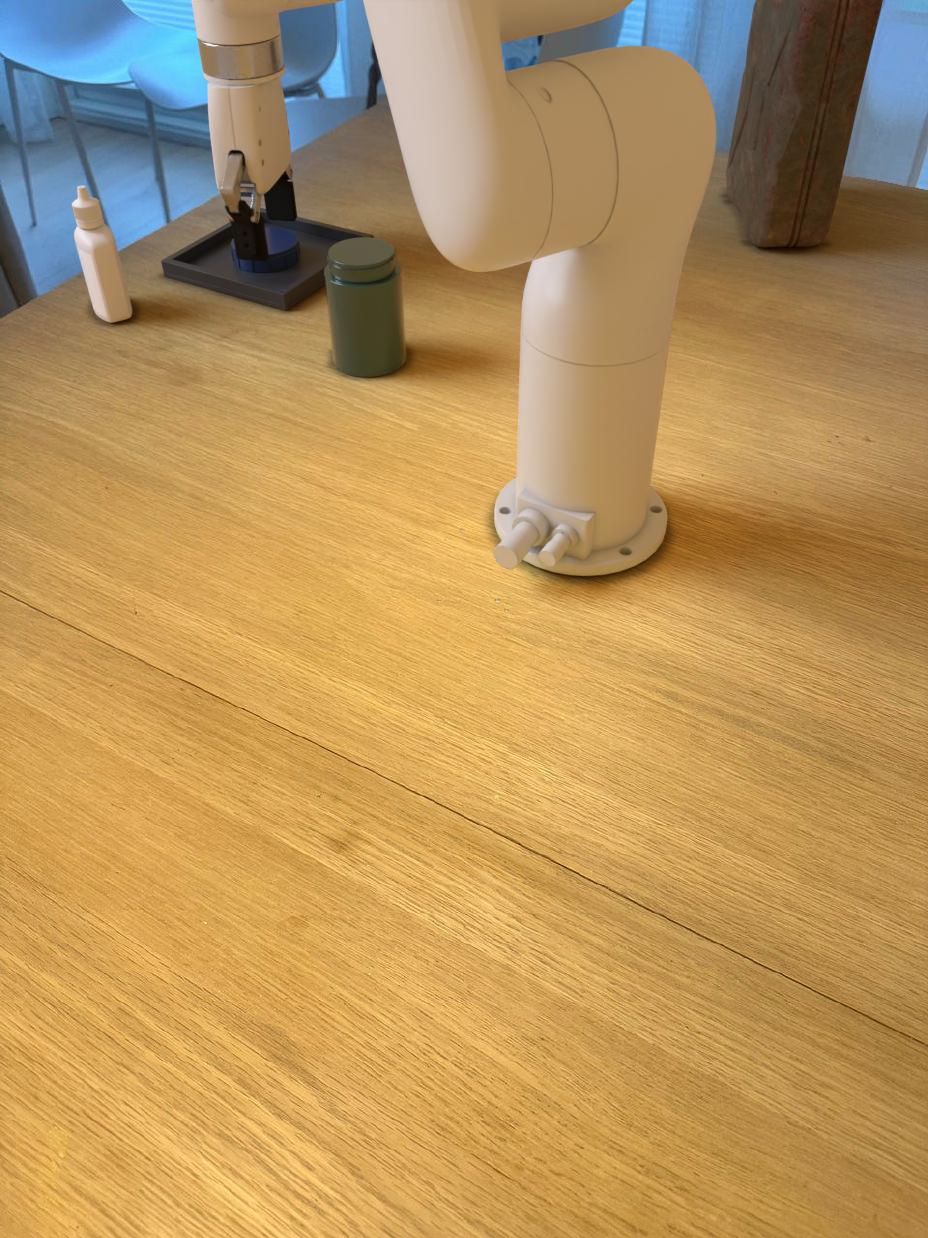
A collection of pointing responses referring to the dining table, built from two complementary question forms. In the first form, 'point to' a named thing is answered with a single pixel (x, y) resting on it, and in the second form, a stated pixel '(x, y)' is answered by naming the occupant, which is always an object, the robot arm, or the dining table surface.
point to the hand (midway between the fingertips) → (268, 238)
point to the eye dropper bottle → (100, 260)
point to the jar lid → (273, 252)
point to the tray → (280, 289)
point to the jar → (365, 307)
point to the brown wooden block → (797, 115)
